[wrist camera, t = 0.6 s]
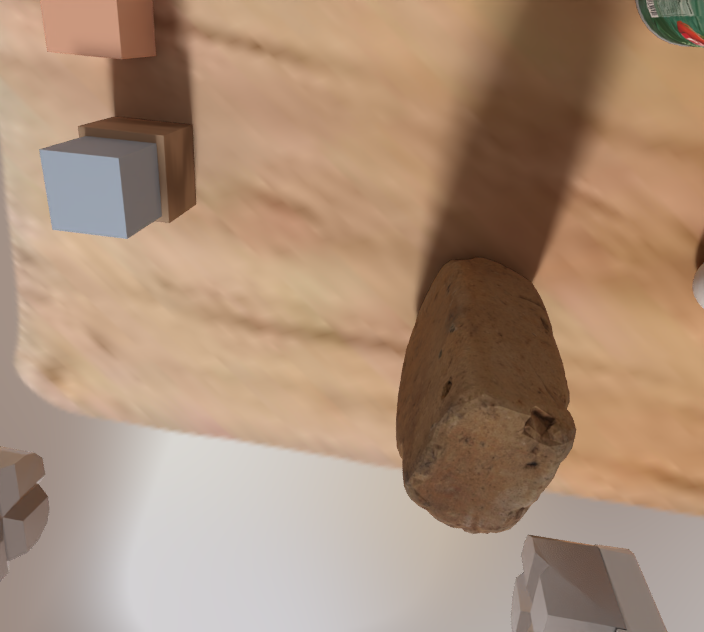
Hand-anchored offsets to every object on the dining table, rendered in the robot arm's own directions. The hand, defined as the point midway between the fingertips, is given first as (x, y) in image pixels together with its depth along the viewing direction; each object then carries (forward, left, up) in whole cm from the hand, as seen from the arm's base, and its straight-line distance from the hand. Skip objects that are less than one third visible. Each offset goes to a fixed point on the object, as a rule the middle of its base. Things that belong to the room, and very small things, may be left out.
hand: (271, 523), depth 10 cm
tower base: (+3, -19, -36) cm, 41 cm away
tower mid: (+3, -19, -31) cm, 36 cm away
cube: (-7, -21, -36) cm, 42 cm away
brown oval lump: (+12, +6, -36) cm, 38 cm away
